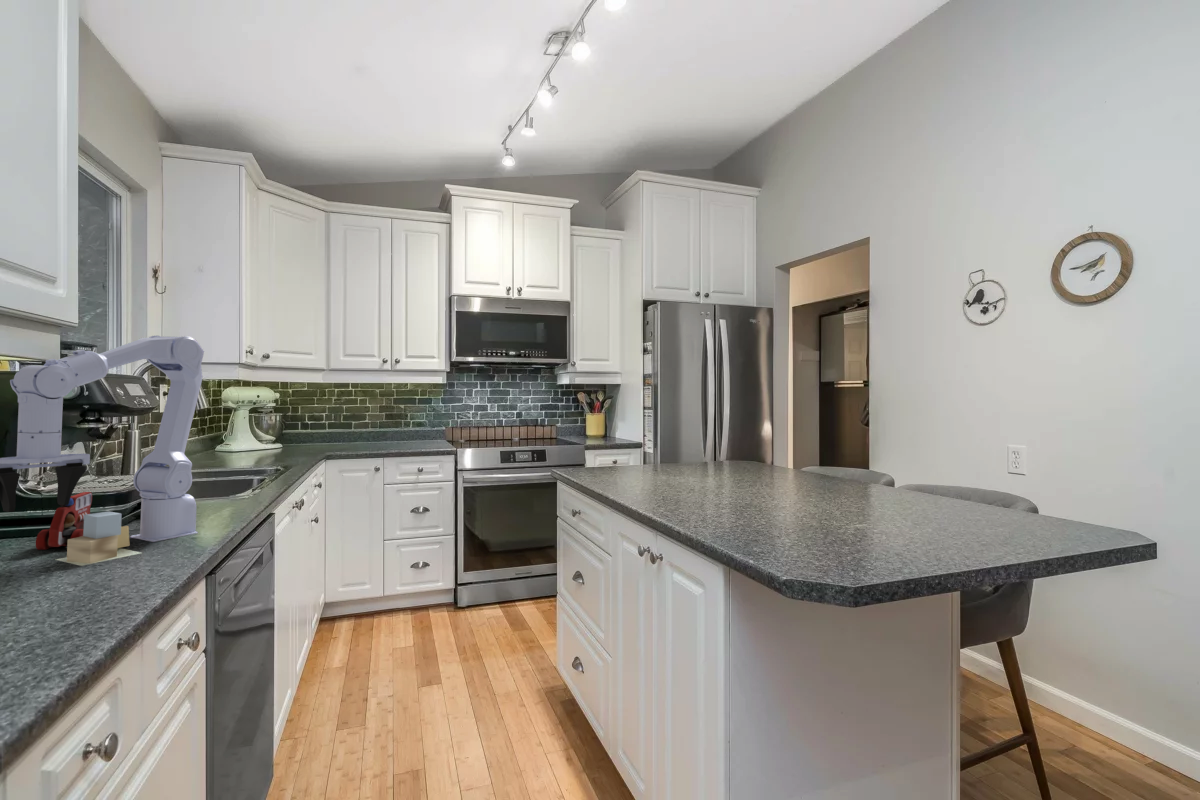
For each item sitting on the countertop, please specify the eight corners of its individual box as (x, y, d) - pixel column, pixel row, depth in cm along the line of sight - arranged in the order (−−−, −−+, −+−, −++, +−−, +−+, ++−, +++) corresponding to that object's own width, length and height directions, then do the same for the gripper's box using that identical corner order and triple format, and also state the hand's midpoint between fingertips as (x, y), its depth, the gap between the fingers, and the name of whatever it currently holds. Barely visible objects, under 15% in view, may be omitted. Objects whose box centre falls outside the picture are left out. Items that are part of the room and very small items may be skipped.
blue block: (108, 531, 112) (108, 511, 112) (120, 534, 111) (121, 513, 111) (83, 536, 109) (84, 514, 109) (96, 538, 107) (97, 517, 107)
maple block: (94, 554, 111) (95, 533, 111) (116, 556, 110) (117, 535, 110) (66, 561, 106) (67, 539, 106) (90, 563, 105) (91, 541, 105)
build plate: (117, 549, 116) (117, 547, 116) (142, 554, 113) (142, 552, 113) (55, 561, 107) (55, 559, 107) (81, 567, 104) (81, 565, 104)
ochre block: (112, 547, 117) (110, 527, 118) (129, 545, 117) (128, 525, 117) (92, 551, 113) (91, 531, 114) (110, 549, 113) (109, 529, 113)
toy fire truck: (28, 555, 110) (30, 500, 110) (65, 539, 122) (67, 490, 122) (73, 554, 112) (75, 500, 112) (105, 538, 124) (107, 490, 124)
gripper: (-2, 435, 96) (-6, 517, 96) (100, 432, 109) (97, 503, 109) (-25, 432, 98) (-28, 512, 98) (78, 429, 112) (75, 500, 112)
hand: (36, 507), depth 104 cm, fingers open, 7 cm apart
